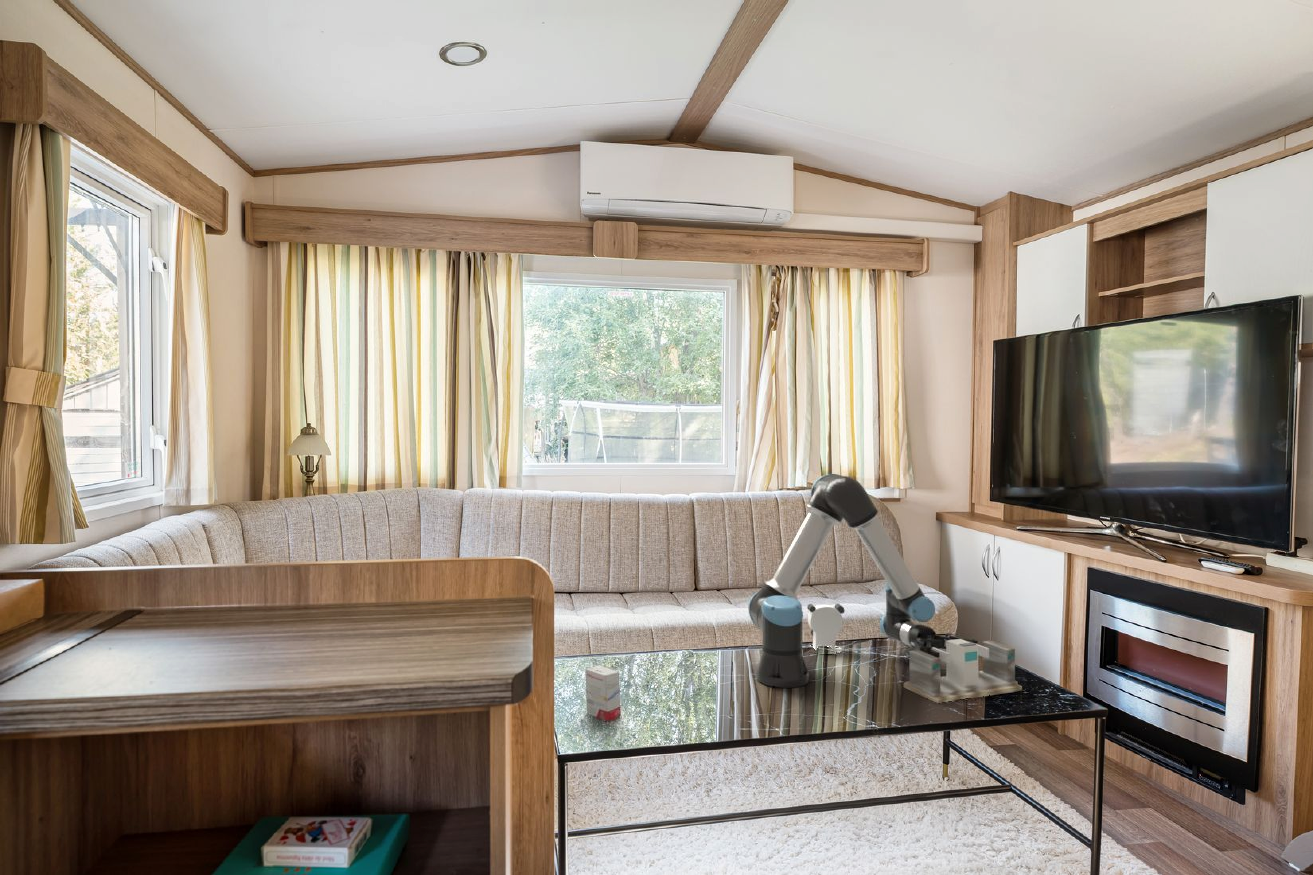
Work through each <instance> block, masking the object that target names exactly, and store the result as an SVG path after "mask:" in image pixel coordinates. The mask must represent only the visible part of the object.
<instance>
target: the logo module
mask: <svg viewBox="0 0 1313 875" xmlns="http://www.w3.org/2000/svg"><path fill="white" fill-rule="evenodd" d="M978 645H979V644H978ZM978 645H976V644H975V643H972V642H968V641H965V640H962V639H955V640H947V641H946V643H945V646H946V649H945V652H947V653H950V663H949V664H947V663H945V665H946V667H945V668H946V669H945V671H946V673H945V674H946V675H945V676H946V679H948V680H950V681H952V682H954V683H957V684H959V685H961V686H963V687H966V686H972V685H978V671H979V655H978Z"/></svg>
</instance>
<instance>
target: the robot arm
mask: <svg viewBox="0 0 1313 875" xmlns="http://www.w3.org/2000/svg"><path fill="white" fill-rule="evenodd" d="M806 508H807V515H806V516H805V517H804V520H803V521H802V524H801V526H800V527H799V529H798V531H797V533H796V535H795V536H794V539H793V540H792V542H791V543H790V545H789V548H788V549H787V551H786V553H785V555H784V557H783V558H782V559H781V562H780V564H779V566H778V568H777V570H776V571H775V573H774V575H773V577H772V578H771V579H770V580H766V581H764V583H763V585H762V586H761V588H760V590H757V591H756V592H755V593H754V594H752V596H751V598H750V599H749V602H748V609H747V610H748V614H749V615H748V616H749V617H750V620H751V622H752V623H753V624H754V626H756V628H758V629H759V630H760V631H761V633H762V634H761V636H762V642H761V643H762V646H761V647H762V650H761V651H762V652H761V656H760V660H759V661H758V664H757V665H758V666H757V669H756V680H757V682H759V683H760V682H762V683H763V685H766V686H769V687H773V686H775V688H783V689H784V688H787V689H788V688H790V689H791V688H799V687H802V686H805V685H807V684H808V683H809V681H810V680H809V679H810V678H809V677H810V674H809V671H808V667H807V665H806V661H805V658H804V654H803V617H804V613H803V605H802V604H801V602H800V601H799V598H798V591H799V589H800V587H801V586H802V583H803V582H804V580H805V578H806V576H807V575H808V573H809V571H810V569H811V567H812V565H813V564H814V561H815V560H816V558H817V556H818V554H819V552H821V551H820V550H821V548H823V545H824V543H825V542H826V540H827V538H828V536H829V535H830V532H831V530H832V529H833V527H835V526H837V525H840V524H841V523H842V521H843V520H844V521H845V523H846V524H847V525H848V527H849V528H850V529H852V530H854V531H855V532H856V534H857V536H858V537H859V539H860V540H861V542H862V543H863V545H864V546H865V549H866V550H867V551H868V554H869V555H870V557H871V558H872V560H873V562H874V563H875V565H876V567H877V568H878V570H879V571H880V573H881V575H882V576H883V578H884V580H885V581H886V583H885V584H886V585H885V607H886V608H885V609H886V610H885V614H883V615H882V616H881V617H880V621H879V630H880V632H881V633H882V634H883V635H884V636H885V637H888V638H889V639H890V640H893V641H896V642H899V643H902V644H904V645H907V646H909V647H910V648H912V649H914V650H920V651H922V652H925V653H927V654H929V655H932V656H934V657H937V658H939V659H940V662H943V663H945V664H946V663H947V664H949V663H950V653H947V652H946V641H947V640H955V639H962V640H965V641H968V642H972V643H975V644H976V645H978V656H979V657H982V658H983V657H985V658H989V648H986V647H984V646H983V645H980V644H979V640H978V639H977V640H976V639H970V638H964V637H960V636H954V635H951V634H949V633H948V634H944V635H941V634H937V633H936V632H935V630H934V628H932V627H930V626H927V625H926V624H925V625H924V624H922V623H926V622H929V621H931V620H932V619H933V618H934V616H935V613H936V605H935V603H934V602H933V600H931V599H930V598H929V597H928V596H926V595H925V594H924V591H922V588H921V587H920V586H919V584H918V582H917V581H916V579H915V577H914V575H913V574H912V572H911V571H910V569H909V567H908V566H907V564H906V562H905V561H904V559H903V557H902V556H901V554H900V553H899V551H898V549H897V548H896V545H895V544H894V542H893V540H892V539H891V537H890V536H889V534H888V532H887V530H886V529H885V527H884V526H883V524H882V523H881V521H880V519H879V518H878V515H879V511H878V509H877V507H876V505H875V504H874V502H873V501H872V499H871V497H870V495H869V494H868V492H867V491H866V489H865V487H864V486H863V485H862V484H861V483H860V482H859V481H858V480H856V478H853V477H851V476H846V475H844V476H843V475H841V474H838V473H837V474H836V473H828V474H824V475H822V476H820V477H818V478H817V479H816V480H815V481H814V482H813V484H812V486H811V490H810V499H809V500H808V502H807V505H806ZM942 649H944V650H942ZM762 683H761V684H762Z"/></svg>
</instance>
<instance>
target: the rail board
mask: <svg viewBox="0 0 1313 875" xmlns="http://www.w3.org/2000/svg"><path fill="white" fill-rule="evenodd" d="M982 646H984V647H986V648H989V658H985V657H982V670H978V685H972V686H966V687H963V686H961V685H959V684H957V683H954V682H952V681H950V680H948V679H946V675H945V676H941V661H940V659H939V658H937V657H934V656H932V655H929V654H927V653H925V652H922V651H920V650H915V649H914V650H909V651H908V652H909V681H907V682H904V683H903V688H904V689H907V690H909V691H911V692H913V693H915V694H917V695H919V696H921V697H923V698H925V699H927V698H928V700H929V701H931V700H932V701H931V702H933V701H934V703H935V702H937V703H939V702H946V703H949V702H948V701H952V702H954V701H953V700H958V699H965V698H971V699H978V698H981V697H983V696H984V697H988V696H989V695H990V696H994V695H1001V694H1008V693H1014V692H1020V691H1023V686H1022V685H1021V684H1018V681H1017V680H1016V662H1015V661H1016V649H1015V648H1014V647H1011V646H1008V645H1005V644H1002V643H999V642H996V641H993V640H985V641H982ZM965 700H966V699H965ZM937 703H936V704H937Z"/></svg>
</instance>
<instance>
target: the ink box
mask: <svg viewBox="0 0 1313 875" xmlns="http://www.w3.org/2000/svg"><path fill="white" fill-rule="evenodd" d="M584 670H585V671H584V672H585V674H584V675H585V694H586V696H585V697H586V698H585V699H586V700H585V701H586V702H585V703H586V714H587V715H590V716H591V717H594V718H597V719H600V720H603V721H605V722H610V721H613V720H615V719H618V718H620V717H621V715H622V714H621V692H620V690H621V689H620V688H621V687H620V671H617V670H614V669H612V668H611V669H610V667H606V666H603V665H600V664H599V665H595V666H592V667H588V668H586V669H584Z"/></svg>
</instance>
